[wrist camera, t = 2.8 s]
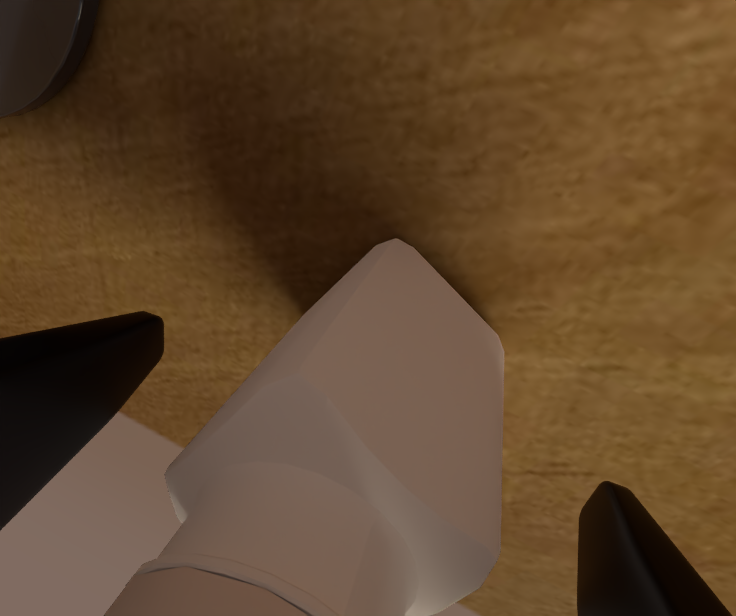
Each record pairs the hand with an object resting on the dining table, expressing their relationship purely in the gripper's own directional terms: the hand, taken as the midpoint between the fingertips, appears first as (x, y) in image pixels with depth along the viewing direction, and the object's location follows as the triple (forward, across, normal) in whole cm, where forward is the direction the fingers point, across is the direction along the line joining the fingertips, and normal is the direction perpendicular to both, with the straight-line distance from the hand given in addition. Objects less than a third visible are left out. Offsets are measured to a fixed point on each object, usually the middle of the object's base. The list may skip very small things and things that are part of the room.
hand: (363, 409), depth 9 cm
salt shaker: (+4, 0, 0) cm, 4 cm away
